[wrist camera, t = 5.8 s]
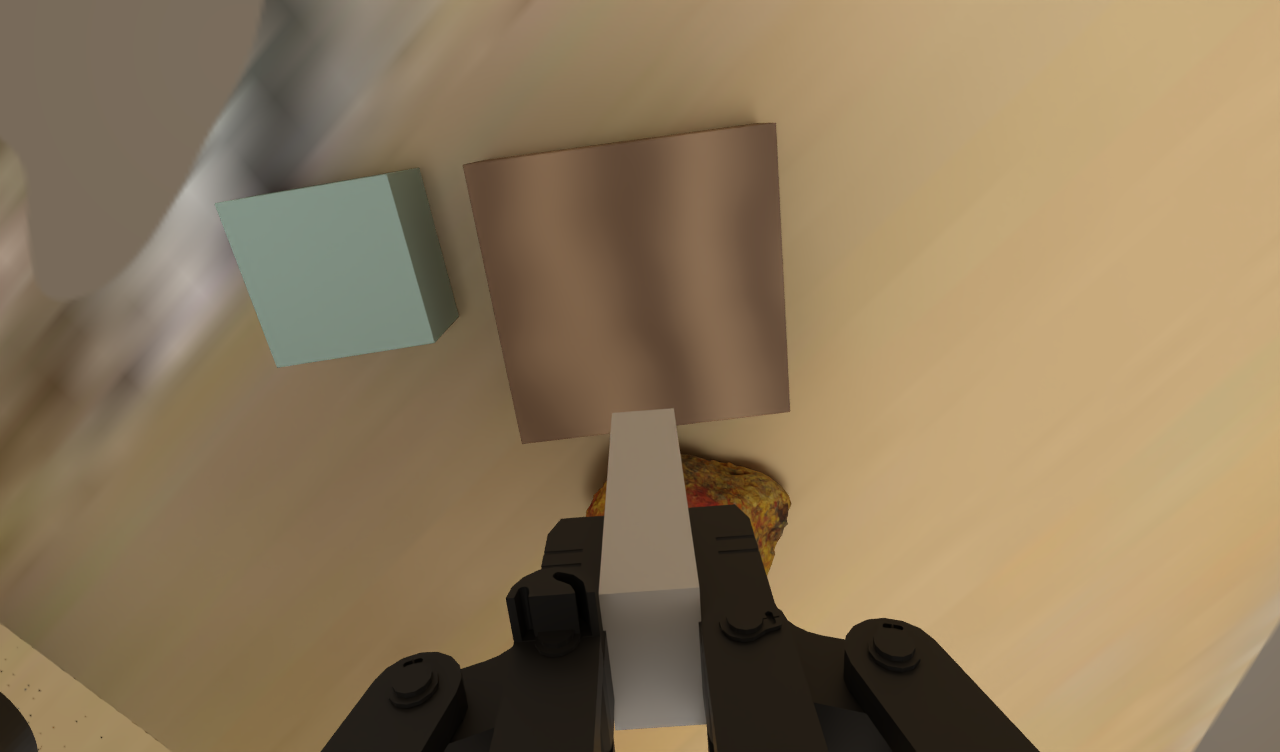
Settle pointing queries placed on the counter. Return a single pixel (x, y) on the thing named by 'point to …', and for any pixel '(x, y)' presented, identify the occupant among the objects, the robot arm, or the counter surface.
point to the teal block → (342, 267)
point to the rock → (730, 498)
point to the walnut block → (637, 279)
